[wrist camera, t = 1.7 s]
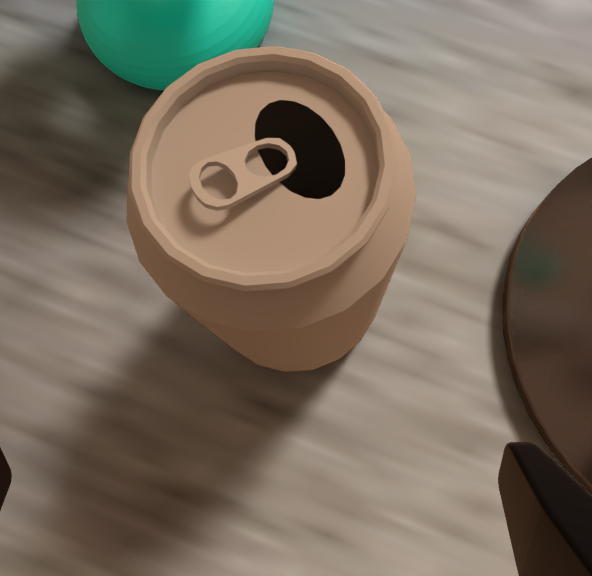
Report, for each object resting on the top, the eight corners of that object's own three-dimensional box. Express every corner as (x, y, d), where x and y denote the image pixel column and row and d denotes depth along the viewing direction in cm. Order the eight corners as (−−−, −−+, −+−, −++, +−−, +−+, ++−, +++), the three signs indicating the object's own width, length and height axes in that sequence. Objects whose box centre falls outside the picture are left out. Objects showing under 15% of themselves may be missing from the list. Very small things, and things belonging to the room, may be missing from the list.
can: (411, 317, 22) (499, 201, 11) (264, 407, 22) (189, 386, 10) (322, 186, 24) (315, -33, 13) (184, 265, 24) (45, 111, 12)
